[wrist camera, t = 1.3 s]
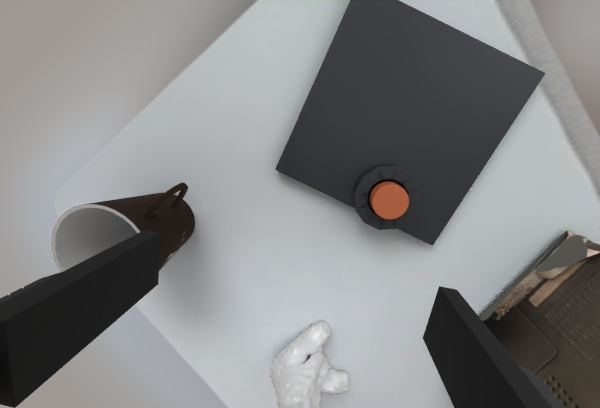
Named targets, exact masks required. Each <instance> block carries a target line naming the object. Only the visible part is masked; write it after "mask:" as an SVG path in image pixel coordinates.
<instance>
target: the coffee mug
mask: <svg viewBox="0 0 600 408" xmlns="http://www.w3.org/2000/svg"><path fill="white" fill-rule="evenodd" d="M187 189H188V186H187V185H186V184H185V183H180V184H178V185H176V186H174V187H173V188H171V189H170V190H169V191H167V192H166V193H157V194H150V195H143V196H137V197H130V198H123V199H117V200H110V201H103V202H97V203H90V204H84V205H80V206H76V207H73V208H72V209H70V210H68V211H66V212H65V213H64V214H63V215H62V216H61V217H60V218H59V220H58V221H57V223H56V225H55V227H54V230H53V234H52V251H53V255H54V259H55V262H56V263H57V266H58V268H59V270H60V271H61V272H63V271H65V270H67V269H69V268H71V267H73V266H75V265H77V264H79V263H81V262H83V261H85V260H87V259H89V258H91V257H93V256H94V255H96V254H98V253H100V252H102V251H104V250H106V249H108V248H110V247H112V246H114V245H116V244H118V243H120V242H122V241H124V240H126V239H128V238H130V237H132V236H134V235H136V234H138V233H140V232H141V231H143V230H148V231H153V232H158V233H160V242H159V270H160V269H161V268H162V267H163V266H164V265H165V264H166V263H167V262H168V261H169V259H170V258H171V257H172V256H173V255H174V254H175V253H176V252H177V251H178V250H179V249H180V247H181V246H182V245H183V244H184V243H185V242H186V241H187V240H188V239H189V237H190V236H191V235H192V233H193V230H194V224H195V221H194V215H193V212H192V210H191V208H190V207H189V205H188V204H187V203H186V202H185V201H184V200H183V197H184V195H185V194H186V192H187ZM179 190H181V191H180V193H179V195H178V196H177V195H174V193H176V192H178V191H179Z"/></svg>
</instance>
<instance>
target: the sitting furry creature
mask: <svg viewBox="0 0 600 408" xmlns="http://www.w3.org/2000/svg"><path fill="white" fill-rule="evenodd" d="M330 334H331V332H330V328H329V326H328V324H325V321H321V322H318V323H316V324H314V325H312V324H311V325H310V328H309V329H306V330H305V331H304V333H301V334H300V336H297V337H296V339H294V341H292V342H290V344H289V345H288V346H286V347H285V348H284V349H282V350H281V352H280V353H278V355H277V357H276V358H275V360H274V361H273V362H272V365H271V367H270V375H271V376H270V377H271V379H272V383H273V387H274V388H275V389H276V394H277V397H278V406H279V407H280V408H320V400H321V396H320V393H322V392H324V393H328V394H333V393H337V394H339V393H340V392H347V391H348V377H347V372H344V371H340V370H335V369H333V368H332V366H331V365H330V363H329V360H328V359H327V356H326V355H324V354H323V352H324V348H323V345H324V344H325V342H326V341H327V340H328V338H329V336H330ZM310 354H311V355H310ZM309 355H310V358H309Z"/></svg>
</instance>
